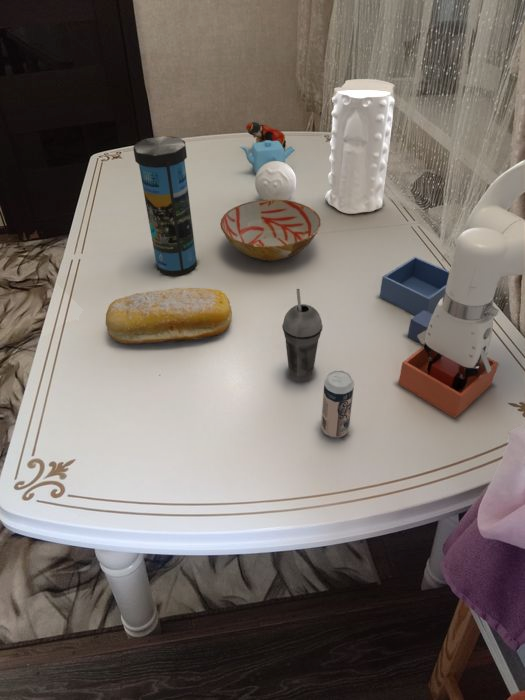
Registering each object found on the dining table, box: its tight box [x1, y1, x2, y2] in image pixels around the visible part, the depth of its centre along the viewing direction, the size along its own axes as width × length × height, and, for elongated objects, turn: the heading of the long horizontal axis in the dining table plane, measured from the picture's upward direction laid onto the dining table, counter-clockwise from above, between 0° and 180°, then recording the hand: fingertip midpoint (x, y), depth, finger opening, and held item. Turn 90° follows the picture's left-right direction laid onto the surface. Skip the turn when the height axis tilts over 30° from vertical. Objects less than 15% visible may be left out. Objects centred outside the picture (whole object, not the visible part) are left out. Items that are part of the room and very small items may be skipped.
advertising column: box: [132, 135, 198, 277], centre depth 126 cm, size 11×11×30 cm
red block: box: [429, 356, 459, 388], centre depth 100 cm, size 4×4×4 cm
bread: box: [105, 287, 233, 345], centre depth 114 cm, size 13×26×8 cm, turn 98°
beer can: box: [320, 370, 355, 438], centre depth 91 cm, size 5×5×12 cm
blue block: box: [407, 310, 433, 345], centre depth 111 cm, size 4×4×4 cm
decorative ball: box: [254, 161, 297, 201], centre depth 158 cm, size 12×12×12 cm
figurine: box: [245, 121, 287, 149], centre depth 190 cm, size 10×10×15 cm
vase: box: [325, 78, 396, 215], centre depth 150 cm, size 17×16×32 cm
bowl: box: [219, 199, 322, 261], centre depth 138 cm, size 25×25×8 cm
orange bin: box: [397, 346, 500, 419], centre depth 100 cm, size 12×12×6 cm
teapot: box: [239, 140, 296, 175], centre depth 175 cm, size 18×14×10 cm
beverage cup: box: [282, 288, 324, 382], centre depth 99 cm, size 7×7×20 cm
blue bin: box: [379, 256, 450, 316], centre depth 122 cm, size 12×12×6 cm
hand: (445, 381), depth 102 cm, fingers closed on red block, 4 cm apart
